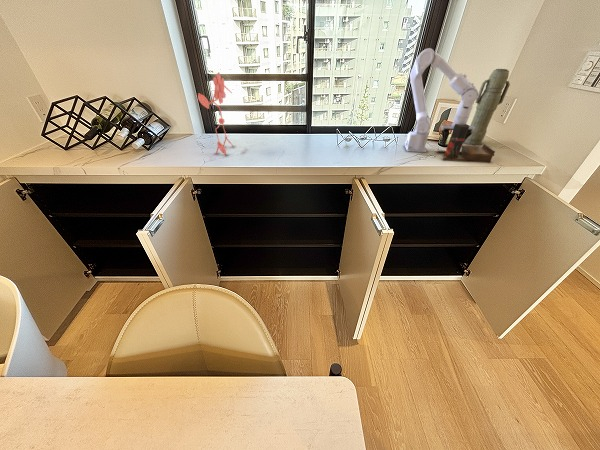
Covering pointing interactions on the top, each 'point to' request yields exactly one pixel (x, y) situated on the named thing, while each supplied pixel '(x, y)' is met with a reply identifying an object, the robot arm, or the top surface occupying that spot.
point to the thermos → (488, 104)
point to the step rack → (474, 154)
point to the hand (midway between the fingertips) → (451, 145)
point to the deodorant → (456, 140)
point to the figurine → (218, 95)
